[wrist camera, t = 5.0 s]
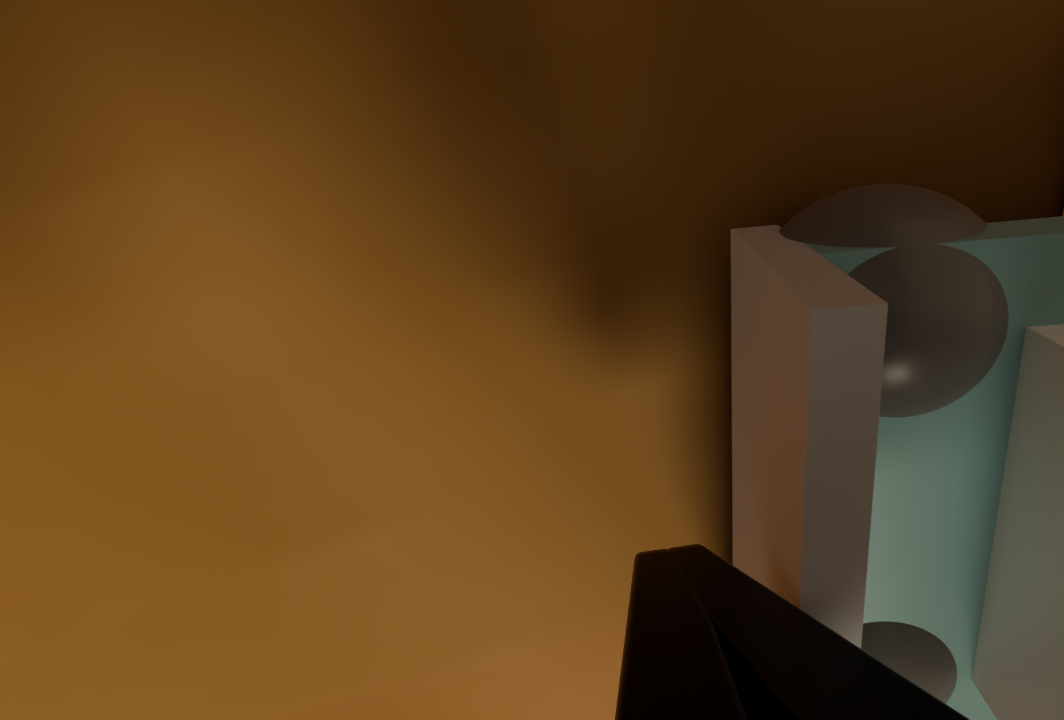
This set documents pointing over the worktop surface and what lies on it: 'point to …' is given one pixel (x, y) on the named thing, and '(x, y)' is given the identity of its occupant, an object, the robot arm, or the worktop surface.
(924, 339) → the trolley
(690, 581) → the robot arm
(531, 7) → the worktop surface
